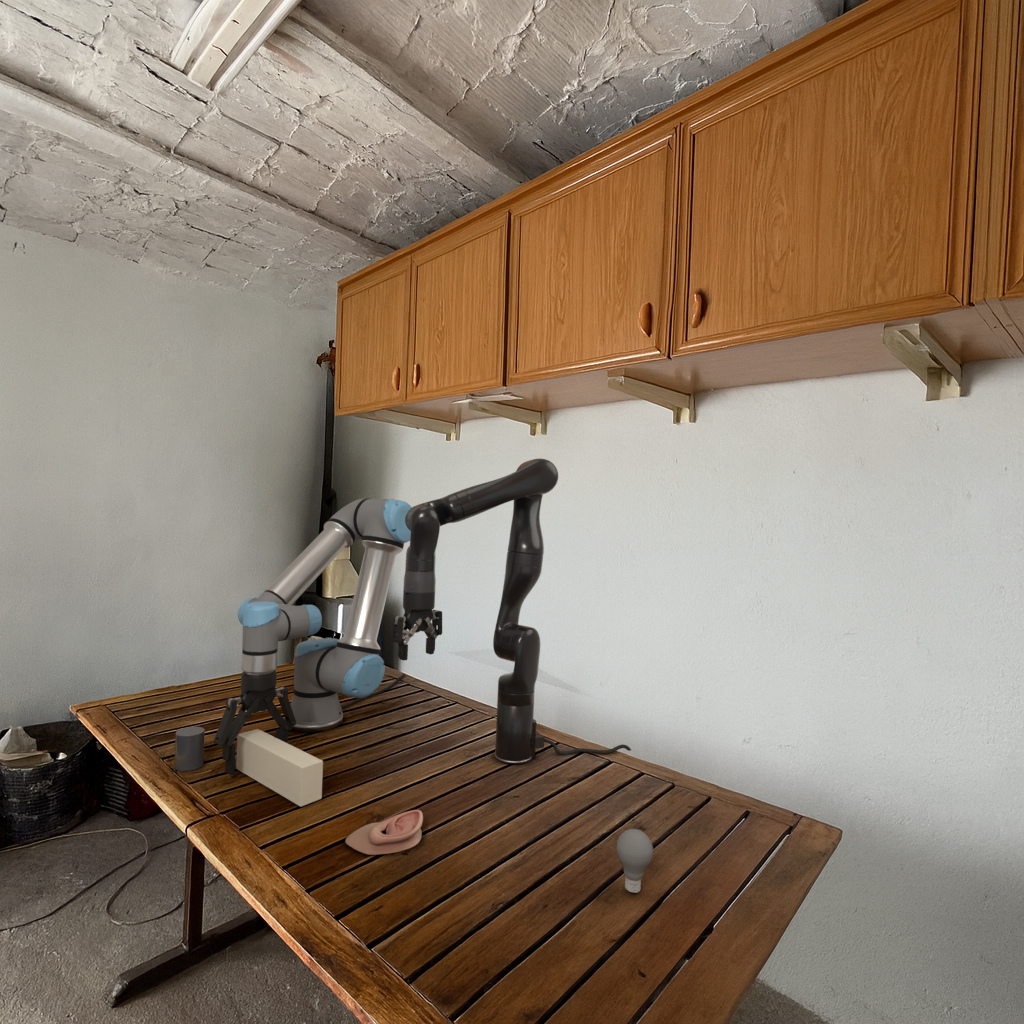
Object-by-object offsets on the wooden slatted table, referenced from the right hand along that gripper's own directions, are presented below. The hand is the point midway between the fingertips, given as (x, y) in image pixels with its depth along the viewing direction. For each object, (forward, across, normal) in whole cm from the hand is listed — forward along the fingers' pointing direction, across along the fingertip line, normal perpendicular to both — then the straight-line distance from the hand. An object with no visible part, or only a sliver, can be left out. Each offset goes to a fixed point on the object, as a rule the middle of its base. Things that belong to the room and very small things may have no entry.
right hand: (416, 656), depth 151 cm
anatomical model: (+26, +26, +21) cm, 42 cm away
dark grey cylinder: (+26, +36, -36) cm, 57 cm away
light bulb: (+26, +8, +63) cm, 69 cm away
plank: (+26, +27, -14) cm, 40 cm away
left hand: (+25, +27, -23) cm, 43 cm away
